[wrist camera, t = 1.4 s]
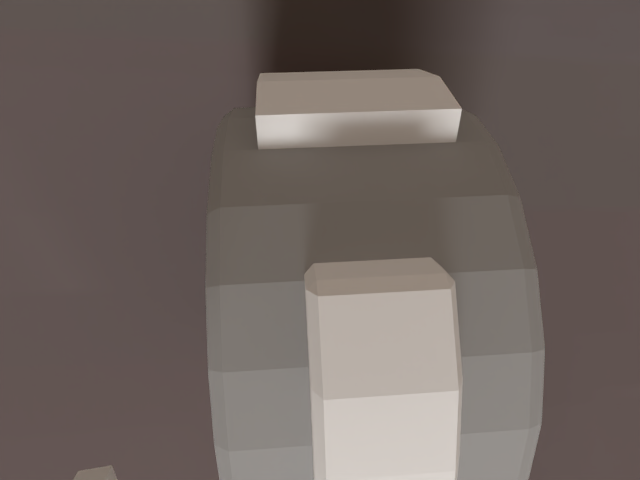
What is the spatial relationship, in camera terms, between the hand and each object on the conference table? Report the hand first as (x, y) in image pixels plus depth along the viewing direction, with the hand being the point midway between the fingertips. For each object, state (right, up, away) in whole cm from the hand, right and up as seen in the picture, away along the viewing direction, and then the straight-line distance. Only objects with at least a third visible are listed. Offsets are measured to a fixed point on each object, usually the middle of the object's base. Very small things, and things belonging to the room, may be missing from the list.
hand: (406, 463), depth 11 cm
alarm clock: (-2, +6, +19) cm, 20 cm away
